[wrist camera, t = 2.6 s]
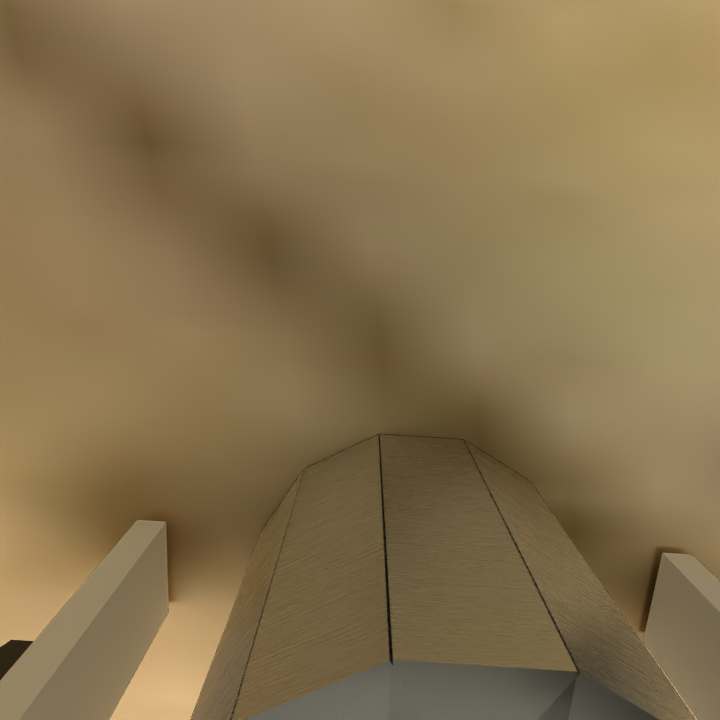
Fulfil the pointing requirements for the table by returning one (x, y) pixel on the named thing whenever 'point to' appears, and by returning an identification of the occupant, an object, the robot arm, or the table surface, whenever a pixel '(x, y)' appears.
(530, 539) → the tube
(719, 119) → the table surface
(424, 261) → the table surface
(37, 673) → the robot arm
